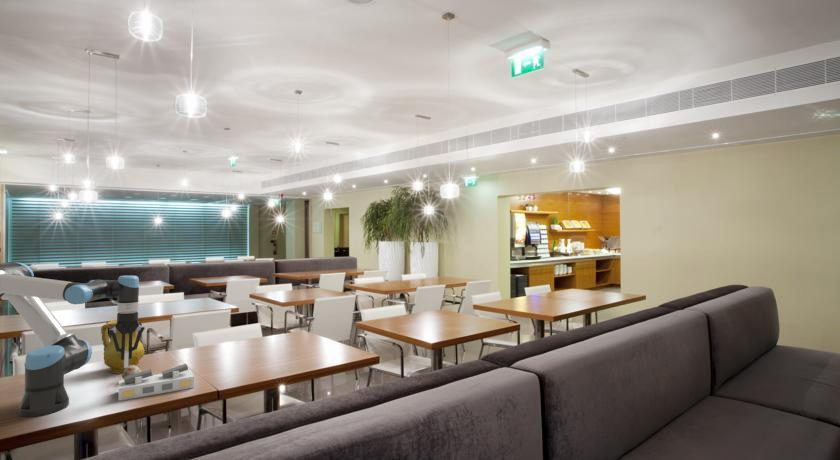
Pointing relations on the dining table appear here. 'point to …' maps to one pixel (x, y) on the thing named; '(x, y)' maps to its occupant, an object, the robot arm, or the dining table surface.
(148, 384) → the switch unit
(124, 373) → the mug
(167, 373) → the rocker
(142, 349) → the pitcher
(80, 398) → the dining table surface
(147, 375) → the rocker
